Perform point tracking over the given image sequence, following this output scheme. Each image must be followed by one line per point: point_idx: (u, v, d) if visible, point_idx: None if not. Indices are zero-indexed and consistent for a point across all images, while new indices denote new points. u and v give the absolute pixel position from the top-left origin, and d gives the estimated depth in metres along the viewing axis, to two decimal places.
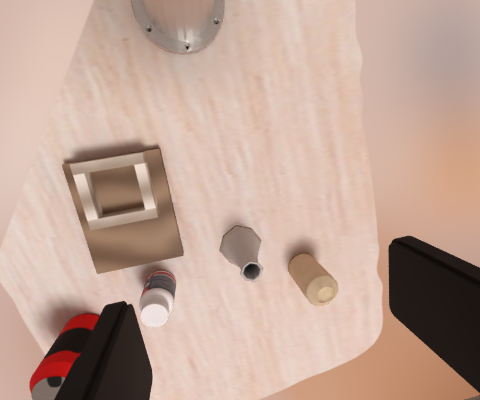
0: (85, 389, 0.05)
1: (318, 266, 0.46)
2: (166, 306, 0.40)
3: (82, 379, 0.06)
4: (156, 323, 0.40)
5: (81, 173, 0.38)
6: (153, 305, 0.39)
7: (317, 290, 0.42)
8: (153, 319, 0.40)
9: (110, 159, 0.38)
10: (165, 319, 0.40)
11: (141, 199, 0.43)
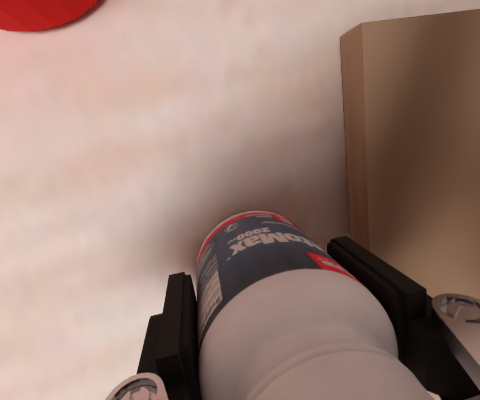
0: (179, 330, 0.07)
1: None
2: None
3: (173, 325, 0.07)
4: None
5: None
6: None
7: None
8: None
9: None
10: None
11: None
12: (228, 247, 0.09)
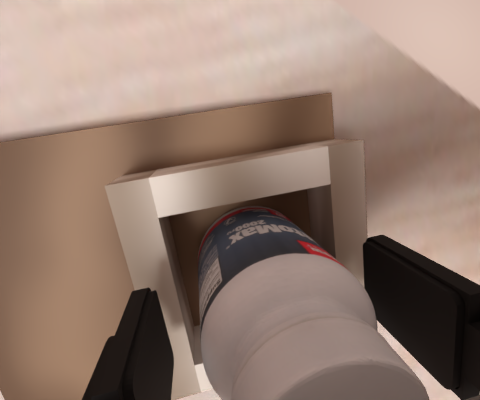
0: (126, 360, 0.06)
1: None
2: None
3: (121, 352, 0.06)
4: None
5: (331, 175, 0.11)
6: None
7: None
8: None
9: None
10: None
11: None
12: (227, 237, 0.10)
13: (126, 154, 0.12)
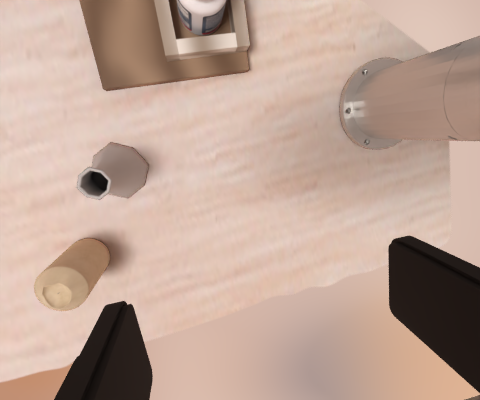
0: (85, 389, 0.05)
1: (97, 278, 0.34)
2: None
3: (82, 379, 0.06)
4: None
5: None
6: None
7: (64, 282, 0.29)
8: None
9: (242, 2, 0.31)
10: None
11: (185, 38, 0.33)
12: None
13: None
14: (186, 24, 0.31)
